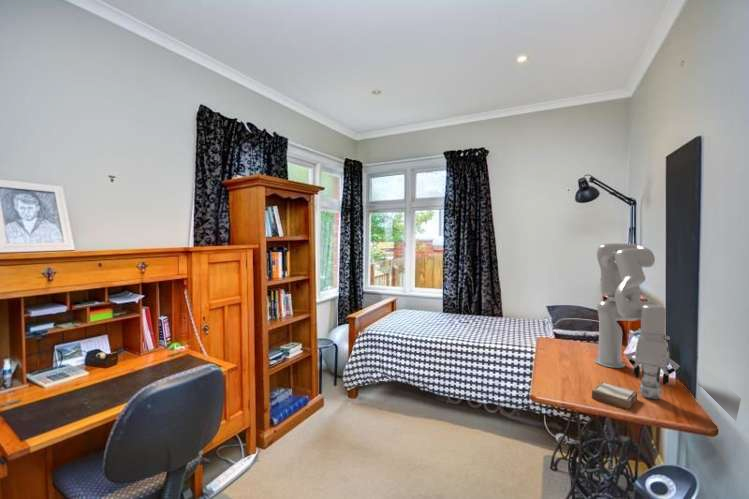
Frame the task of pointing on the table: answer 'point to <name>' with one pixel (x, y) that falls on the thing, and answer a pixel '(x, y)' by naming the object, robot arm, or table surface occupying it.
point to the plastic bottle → (650, 379)
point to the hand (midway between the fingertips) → (650, 380)
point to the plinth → (614, 395)
